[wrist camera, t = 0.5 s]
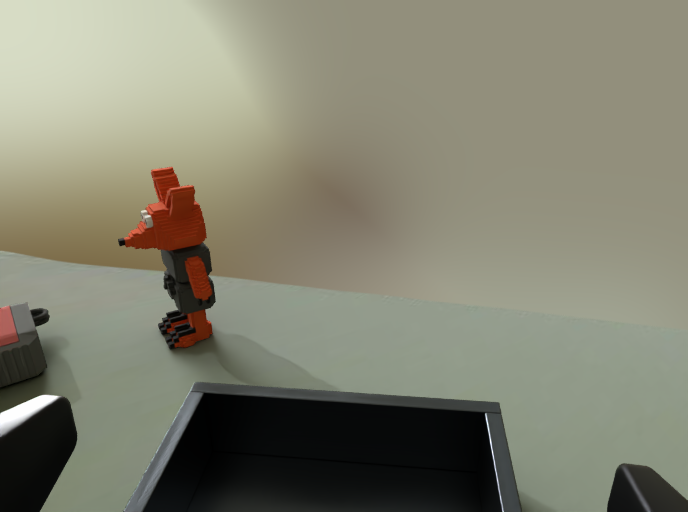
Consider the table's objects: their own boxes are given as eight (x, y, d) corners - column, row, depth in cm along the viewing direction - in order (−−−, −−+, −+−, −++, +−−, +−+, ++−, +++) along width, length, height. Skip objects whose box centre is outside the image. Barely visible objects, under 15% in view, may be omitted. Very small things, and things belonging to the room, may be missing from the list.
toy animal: (127, 320, 43) (97, 171, 38) (196, 302, 46) (176, 160, 41) (152, 374, 37) (120, 206, 32) (229, 350, 40) (212, 190, 35)
